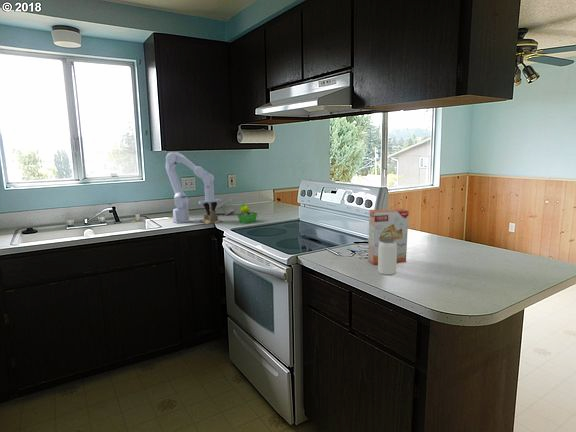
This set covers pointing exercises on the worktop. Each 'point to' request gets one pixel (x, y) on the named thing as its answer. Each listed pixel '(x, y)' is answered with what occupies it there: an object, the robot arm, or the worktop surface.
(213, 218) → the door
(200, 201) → the robot arm
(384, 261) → the can
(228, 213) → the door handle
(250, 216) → the fruit basket
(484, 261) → the worktop surface
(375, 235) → the cracker box
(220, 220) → the beige irregular piece
